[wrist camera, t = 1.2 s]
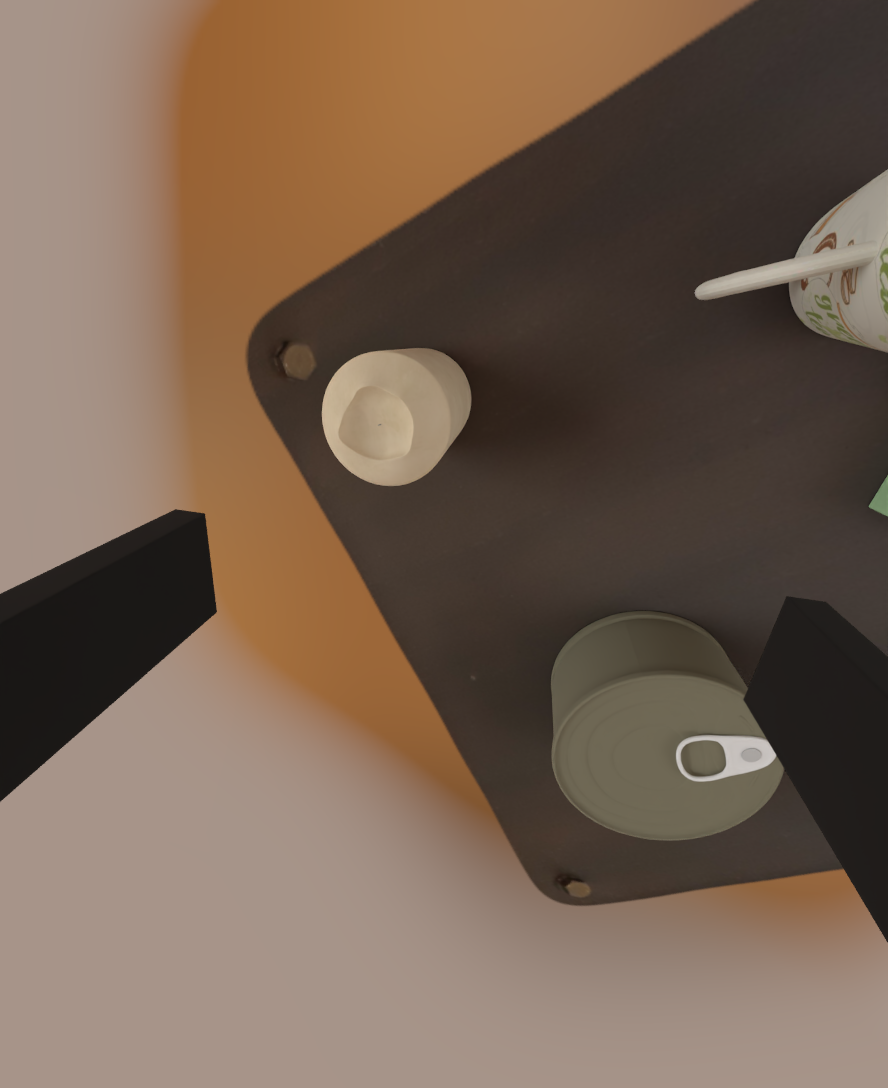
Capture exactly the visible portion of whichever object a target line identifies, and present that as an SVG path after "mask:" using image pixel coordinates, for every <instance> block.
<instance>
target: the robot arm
mask: <svg viewBox="0 0 888 1088" xmlns="http://www.w3.org/2000/svg"><path fill="white" fill-rule="evenodd" d="M216 612H217V610H216V602H215V594H214V585H213V577H212V568H211V561H210V552H209V544H208V535H207V527H206V519H205V514H204V513H197V512H189V511H182V510H174V511H171V512H169V513H167V514H165V515H163V516H161V517H159V518H157V519H155V520H153V521H150V522H149V523H146V524H144V525H142V526H140V527H138V528H136V529H134V530H132V531H130V532H128V533H126V534H124V535H121V536H119V537H118V538H115V539H113V540H111V541H109V542H107V543H105V544H103V545H101V546H99V547H97V548H95V549H92V550H90V551H88V552H86V553H84V554H82V555H80V556H78V557H76V558H74V559H72V560H70V561H68V562H66V563H63V564H61V565H60V566H57V567H55V568H53V569H51V570H49V571H47V572H45V573H43V574H41V575H39V576H37V577H34V578H32V579H30V580H28V581H26V582H24V583H22V584H20V585H18V586H16V587H14V588H12V589H10V590H7V591H5V592H3V593H1V594H0V801H1V800H3V799H4V798H5V797H6V796H7V795H8V794H10V793H11V792H12V791H13V790H14V789H15V788H16V787H17V786H19V785H20V784H21V783H22V782H23V781H24V780H25V779H27V778H28V777H29V776H30V775H31V774H32V773H33V772H35V771H36V770H37V769H38V768H39V767H40V766H42V765H43V764H44V763H45V762H46V761H47V760H48V759H50V758H51V757H52V756H53V755H54V754H55V753H56V752H57V751H59V750H60V749H61V748H62V747H63V746H64V745H66V743H68V742H69V741H70V740H71V739H72V738H74V737H75V736H76V735H77V734H78V733H79V732H80V731H82V730H83V729H84V728H85V727H86V726H87V725H88V724H89V723H91V722H92V721H93V720H94V719H95V718H96V717H97V716H99V715H100V714H101V713H102V712H103V711H104V710H105V709H107V708H108V707H109V706H110V705H111V704H112V703H114V702H115V701H116V700H117V699H118V698H119V697H120V696H122V695H123V694H124V693H125V692H126V691H127V690H128V689H129V688H131V687H132V686H133V685H134V684H135V683H136V682H138V681H139V680H140V679H141V678H142V677H143V676H144V675H145V674H147V672H149V671H150V670H151V669H152V668H153V667H155V665H157V664H158V663H159V662H160V661H161V660H163V659H164V658H165V657H166V656H167V655H168V654H169V653H171V652H172V651H173V650H174V649H175V648H176V647H177V646H179V645H180V644H181V643H182V642H183V641H184V640H185V639H187V638H188V637H189V636H190V635H191V634H192V633H193V632H195V631H196V630H197V629H198V628H199V627H200V626H201V625H203V624H204V623H205V622H206V621H207V620H208V619H209V618H211V617H212V616H213V615H214V614H215V613H216ZM743 700H744V702H745V703H746V705H747V707H748V708H749V710H750V712H751V714H752V715H753V717H754V719H755V720H756V722H757V724H758V725H759V727H760V729H761V730H762V732H763V734H764V735H765V737H766V739H767V740H768V742H769V744H770V745H771V747H772V749H773V751H774V752H775V754H776V756H777V757H778V759H779V761H780V762H781V764H782V766H783V767H784V769H785V771H786V772H787V774H788V776H789V777H790V779H791V781H792V783H793V784H794V786H795V788H796V789H797V791H798V793H799V794H800V796H801V798H802V799H803V801H804V803H805V804H806V806H807V808H808V809H809V811H810V813H811V814H812V816H813V818H814V820H815V821H816V823H817V825H818V826H819V828H820V830H821V831H822V833H823V835H824V836H825V838H826V840H827V841H828V843H829V845H830V846H831V848H832V850H833V851H834V853H835V855H836V857H837V858H838V860H839V862H840V863H841V865H842V867H843V868H844V870H845V872H846V873H847V875H848V877H849V878H850V880H851V882H852V883H853V885H854V886H855V888H856V890H857V892H858V894H859V895H860V897H861V899H862V900H863V902H864V904H865V905H866V907H867V908H868V910H869V912H870V913H871V915H872V917H873V919H874V920H875V922H876V924H877V925H878V927H879V929H880V931H881V932H882V934H883V935H884V937H885V939H886V941H887V942H888V657H887V656H886V655H885V654H884V653H883V652H882V651H881V650H880V649H878V648H877V647H876V646H875V645H874V644H873V643H872V642H870V641H869V640H868V639H867V638H866V637H865V636H864V635H863V634H861V633H860V632H859V631H858V630H857V629H856V628H855V627H854V626H852V625H851V624H850V623H849V622H848V621H847V620H846V619H844V618H843V617H842V616H841V615H840V614H839V613H838V612H837V611H835V610H834V609H833V608H832V607H831V606H830V605H829V604H828V603H826V602H823V601H815V600H808V599H801V598H794V597H786V599H785V601H784V604H783V606H782V609H781V611H780V613H779V616H778V618H777V621H776V623H775V625H774V628H773V630H772V632H771V635H770V637H769V640H768V642H767V644H766V647H765V649H764V652H763V654H762V656H761V659H760V661H759V663H758V666H757V668H756V671H755V673H754V675H753V678H752V680H751V683H750V685H749V687H748V690H747V692H746V694H745V697H744V699H743Z"/></svg>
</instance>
